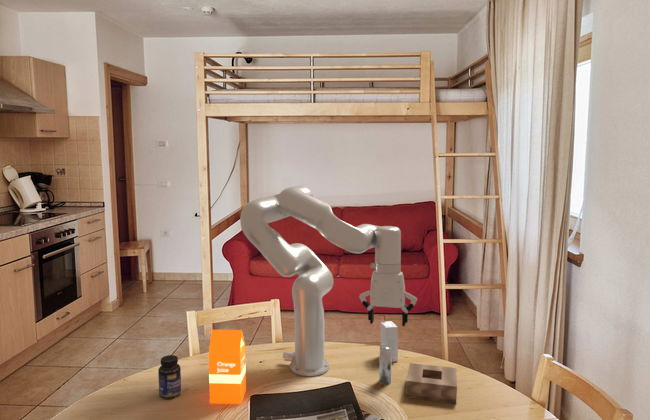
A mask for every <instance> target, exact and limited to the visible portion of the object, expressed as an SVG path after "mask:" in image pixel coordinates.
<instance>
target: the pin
mask: <svg viewBox="0 0 650 420" xmlns="http://www.w3.org/2000/svg"><path fill="white" fill-rule="evenodd" d="M392 363H393V362H392V347H391V346H389V345H381V344H380V346H379V368H378V369H379V373H378V374H379V377H378V378H379V379H378V380H379V383H380V384H382V385H390V384H391V383H392Z"/></svg>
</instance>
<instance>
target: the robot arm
mask: <svg viewBox="0 0 650 420" xmlns="http://www.w3.org/2000/svg"><path fill="white" fill-rule="evenodd" d="M332 209H333V208H332V207H331V205H330V204H328V203H326V202H325V201H322V200H320V199H318V198H316V197H315V196H314V195H313V193H312V191H311V190H310V189H309V188H308V187H306V186H303V185H298V186H290V187H287V188H284V189H283V190H281V192H279V193H278V194H275V195H272V196H271V195H270V196H268V197H267V196H266V197H261V198H256V199H253V200H251V201H249V202H247V203H246V204H245V205H244V206H243V208H242V210H241V211H240V217H239V218H240V219H239V221H240V227H241V231H242V233H243V234H244V236H245V238H247V240H248V241H249V242H250V243H251V244H252V245H253V247H255V248H256V249H257V250H258V251H259V252H260V253H261V255H262V256H263V258H264V259H266V261H267V262H268V263H269V264H270V265H271V267H272V268H274V270H275V271H276V272H277V273H278V274H279V275H280V276H282V277H284V278H290V277H293V276H294V275H295V276H296V274H297V275H298V277H296V279H295V280H294V282H293V284H292V287H291V297H292V301H293V311H294V313H293V314H294V351H293V352H290V351H283V352H282V358H283V360H284V361H285V362H286V361H288V362H290V364H289V369H290V371H291V372H292V373H294V374H296V375H298V376H303V377H315V376H320V375H323V374H325V373H326V372H327V371H328V370H329V369H330V365H329V364H330V363H329V361H327V360H326V359H325V310H324V304H323V297H324V296H325V295H326V294H328V293H329V292H330V291H331V290H332V288H333V286H334V276H333V274H332V272H331V270H330V269H329V268H328V267H327V266H326V265H325V263H323V261H322V260H321V259H320V258H319V257H318V256H317V255H316V253H315V252H314V251H313V250H312V249H311V248H310V247H308V246H307V245H305V244H303V243H300V242H299V243H298V242H296V243H295V242H294V243H291V244H289V243H288V242H287V241H286V240H285V239H284V238H283V237H282V235H281V234H280V233H279V232H278V231H277V230H276V229H273V228H272V227H270V225H269V224H270V223H273V222H276V221H280V220H282V219H285V218H288V217H292V218H294V219H296V220H298V221H300V222H302V223H304V224H306V225H308V226H309V227H312V228H314V229H315V230H316V231H318V232H319V234H320V235H321V236H322V237H323V238H325V239H326V240H327V241H328V242H330V243H331V244H333V245H335V246H337V247H338V248H340V249H342V250H344V251H347V252H349V253H352V254H362V253H364V252H366V251H368V250H370V249H372V248H375V249H374V253H375V254H374V263H373V262H371V263H370V265H369V267H370V269H374V271H372V274H371V279H370V289H369V290H367V291H364V292H362V293H359V296H358V298H359V300H360V302H361V304H362V305H363V307H365V308H366V310H367V312H368V313H367V315H368V316H367V320H368V321H369V324H370V325H372V324H373V323H374V321H375V309H374V307H380V308H381V307H382V308H392V309H393V308H395V309H396V308H397V309H398V308H400V309H401V311H402V317H401V318H402V319H401V320H402V321H401V326H402V327H405V326H406V323H407V324H408V320H409V319H408V318H409V316H408V315H409V312H410V311H411V310H412V309H413V308H414V306H415V305H416V304H417V301H418V297H417V296H415V295H413V294H412V293H409V292H407V291H406V284H405V277H404V274H403V273H404V272H403V271H401V268H402V266H401V265H402V263H401V261H402V260H401V259H402V257H401V256H402V255H401V254H402V253H401V252H402V247H401V246H402V241H401V240H402V234H401V233H402V231H401V229H400V228H399V227H398V226H394V225H393V226H392V225H383V226H380V225H375V224H370V223H362V224H360V225H359V224H358V225H357V226H353V225H352V224H350V223H347V222H346V221H343V220H341V219H340V218H339V217H337V216H336V215H335V214H334V212H333V210H332ZM368 296H370V297H369V302H368V300H367V299H366V297H368ZM406 298H407V299H408V300H410V303H409V304H408V305H407V304H406Z"/></svg>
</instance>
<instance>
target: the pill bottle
mask: <svg viewBox="0 0 650 420" xmlns="http://www.w3.org/2000/svg"><path fill="white" fill-rule="evenodd" d="M178 362H179V357H178V356H177V355H174V354H169V355H164V356H162V357H161V358H160V366H159V368H158V373H157V374H158V393H159V394H158V396H159V398H160V399H163V400H173V399H176V398H178V397H179V396H181V393H182V375H181V374H182V373H181V366H180V364H178Z"/></svg>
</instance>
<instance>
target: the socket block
mask: <svg viewBox="0 0 650 420" xmlns="http://www.w3.org/2000/svg"><path fill="white" fill-rule="evenodd" d="M408 366H409V367H408V370H407V375H406V380H405V397H406V398H411V399H418V400H426V401H432V402H433V401H434V402H442V403H449V404H454V405H455V404H457V392H458V380H457V379H458V377H457V376H458V374H457V371H458V369H457V367H448V366H440V365H432V364H423V363H413V362H410V363H409V365H408Z"/></svg>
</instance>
